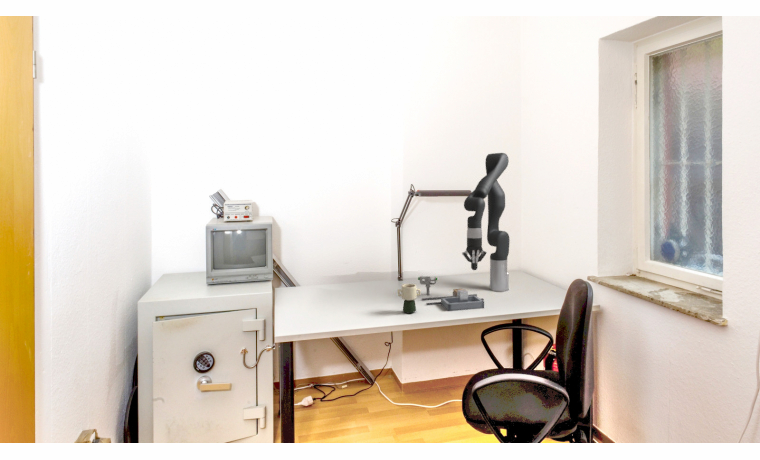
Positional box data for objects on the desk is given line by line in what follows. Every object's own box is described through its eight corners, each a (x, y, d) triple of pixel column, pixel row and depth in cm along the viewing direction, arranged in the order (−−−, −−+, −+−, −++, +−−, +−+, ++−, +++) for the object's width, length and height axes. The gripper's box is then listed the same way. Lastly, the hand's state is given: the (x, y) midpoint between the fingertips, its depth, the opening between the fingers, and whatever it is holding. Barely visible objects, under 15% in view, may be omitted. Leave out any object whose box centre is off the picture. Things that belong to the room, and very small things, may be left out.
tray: (475, 302, 213) (475, 295, 213) (484, 308, 202) (484, 301, 202) (441, 304, 210) (440, 298, 209) (448, 311, 199) (448, 304, 199)
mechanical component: (437, 296, 226) (437, 277, 225) (418, 295, 228) (417, 277, 227) (437, 294, 229) (437, 276, 227) (418, 294, 231) (418, 276, 229)
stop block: (464, 303, 208) (464, 289, 207) (468, 305, 204) (468, 291, 203) (457, 303, 207) (457, 290, 207) (460, 306, 204) (460, 292, 203)
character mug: (419, 309, 204) (419, 283, 202) (421, 314, 196) (421, 287, 195) (397, 310, 203) (396, 284, 202) (398, 315, 196) (398, 287, 195)
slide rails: (476, 295, 224) (476, 294, 224) (483, 300, 214) (483, 299, 214) (421, 300, 219) (421, 298, 219) (427, 305, 209) (427, 303, 209)
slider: (462, 297, 220) (462, 288, 220) (466, 300, 215) (466, 291, 215) (452, 298, 219) (452, 289, 219) (455, 301, 214) (455, 291, 214)
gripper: (483, 235, 220) (483, 267, 222) (459, 236, 217) (459, 269, 219) (489, 236, 212) (489, 270, 214) (464, 238, 210) (464, 272, 212)
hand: (474, 269), depth 217 cm, fingers closed
